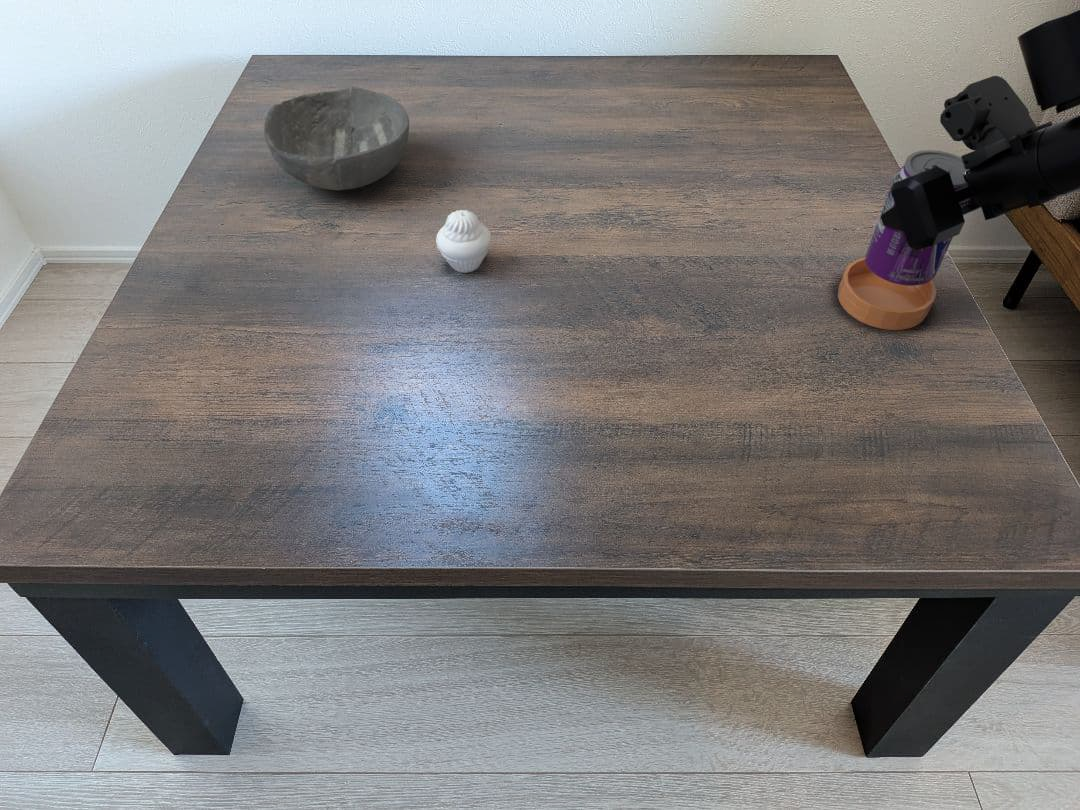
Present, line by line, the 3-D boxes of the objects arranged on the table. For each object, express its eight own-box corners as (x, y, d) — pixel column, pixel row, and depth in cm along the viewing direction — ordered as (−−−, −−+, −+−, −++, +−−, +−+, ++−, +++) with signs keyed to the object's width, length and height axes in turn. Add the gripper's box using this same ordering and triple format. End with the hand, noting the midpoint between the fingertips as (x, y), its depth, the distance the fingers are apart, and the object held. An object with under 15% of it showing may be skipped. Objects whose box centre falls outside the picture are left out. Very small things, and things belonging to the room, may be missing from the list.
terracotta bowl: (921, 279, 88) (930, 261, 86) (932, 335, 82) (941, 317, 80) (835, 269, 89) (841, 251, 87) (839, 323, 83) (846, 305, 81)
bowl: (419, 208, 97) (411, 149, 91) (273, 221, 95) (256, 162, 89) (412, 134, 109) (404, 78, 103) (282, 145, 107) (267, 88, 101)
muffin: (435, 252, 91) (428, 200, 86) (486, 244, 92) (483, 192, 87) (444, 285, 87) (437, 233, 82) (497, 276, 88) (495, 224, 83)
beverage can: (907, 300, 79) (953, 196, 70) (848, 267, 82) (885, 164, 74) (947, 273, 82) (996, 169, 73) (888, 241, 85) (928, 139, 77)
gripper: (1105, 37, 66) (948, 108, 80) (951, 90, 59) (812, 157, 74) (1142, 164, 67) (981, 211, 81) (995, 230, 61) (850, 268, 75)
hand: (908, 209), depth 78 cm, fingers closed on beverage can, 7 cm apart
